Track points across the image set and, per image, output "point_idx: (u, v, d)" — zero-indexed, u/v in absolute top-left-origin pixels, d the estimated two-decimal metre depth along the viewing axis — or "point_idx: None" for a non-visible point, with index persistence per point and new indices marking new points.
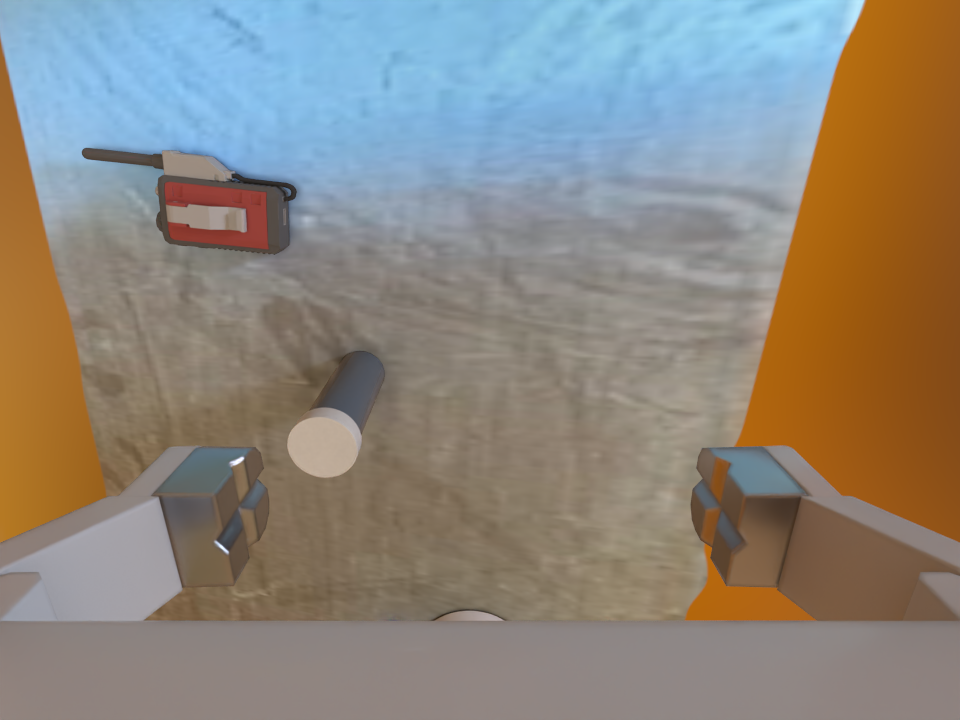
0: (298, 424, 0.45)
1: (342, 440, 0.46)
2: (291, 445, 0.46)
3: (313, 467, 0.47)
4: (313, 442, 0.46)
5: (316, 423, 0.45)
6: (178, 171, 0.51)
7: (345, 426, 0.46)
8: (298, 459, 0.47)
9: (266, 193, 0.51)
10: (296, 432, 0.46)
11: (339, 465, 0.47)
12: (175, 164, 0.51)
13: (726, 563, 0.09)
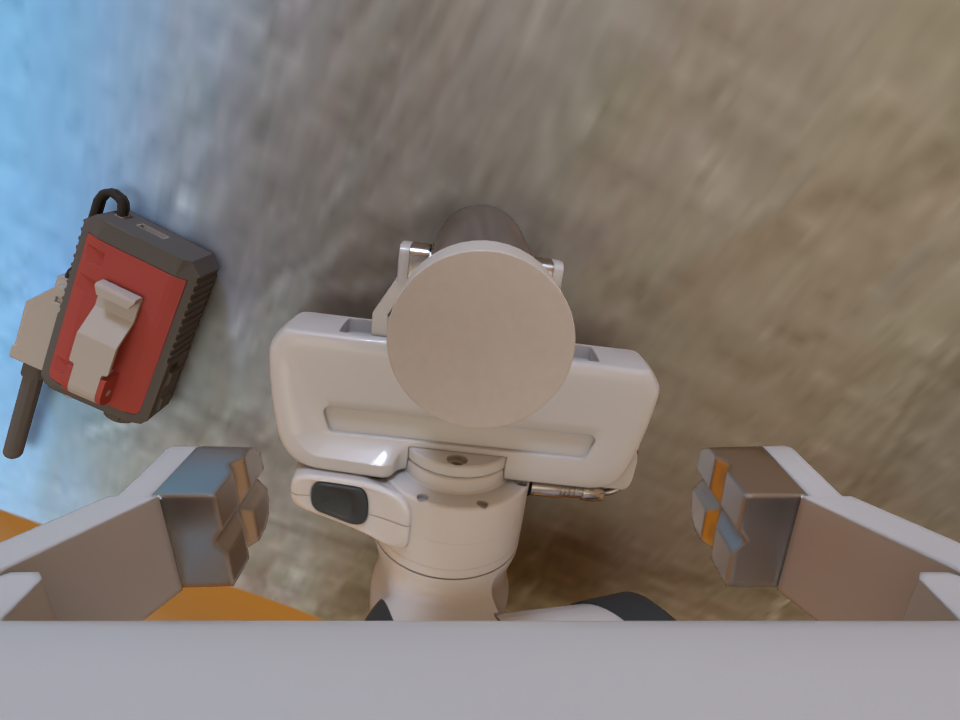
0: (394, 366, 0.17)
1: (481, 284, 0.16)
2: (443, 410, 0.18)
3: (523, 392, 0.18)
4: (456, 357, 0.17)
5: (407, 323, 0.17)
6: (42, 349, 0.32)
7: (446, 256, 0.16)
8: (486, 414, 0.18)
9: (89, 233, 0.29)
10: (413, 382, 0.17)
11: (548, 329, 0.17)
12: (31, 348, 0.32)
13: (726, 564, 0.09)
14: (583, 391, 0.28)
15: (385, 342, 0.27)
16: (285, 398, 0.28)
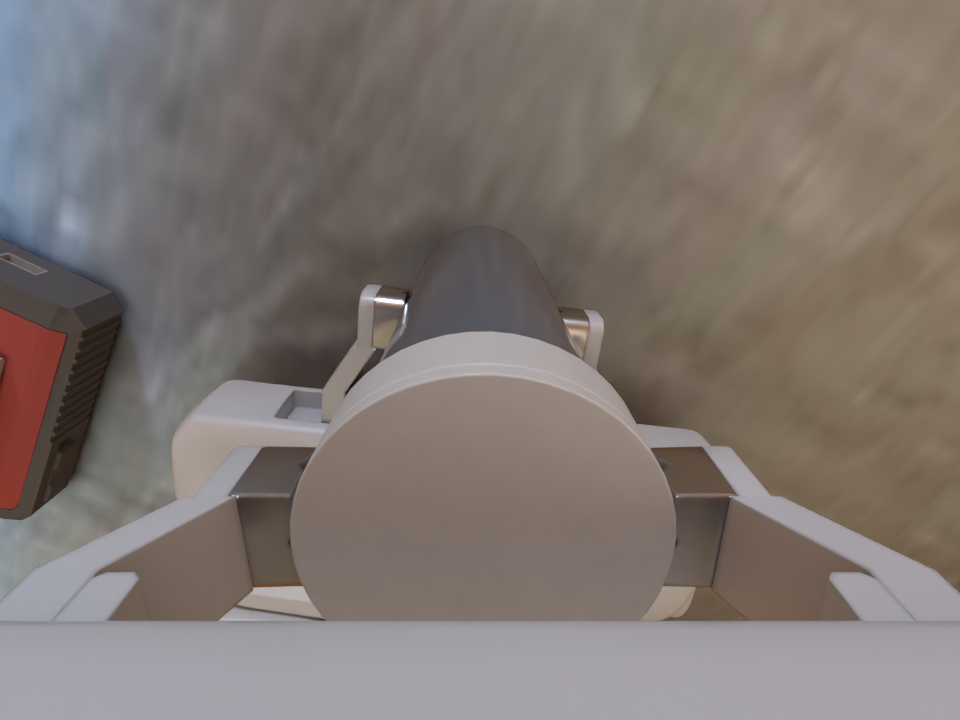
0: (308, 587, 0.09)
1: (483, 440, 0.08)
2: None
3: None
4: (433, 572, 0.08)
5: (330, 513, 0.08)
6: None
7: (407, 384, 0.07)
8: None
9: None
10: (349, 613, 0.09)
11: (622, 522, 0.08)
12: None
13: None
14: None
15: None
16: None
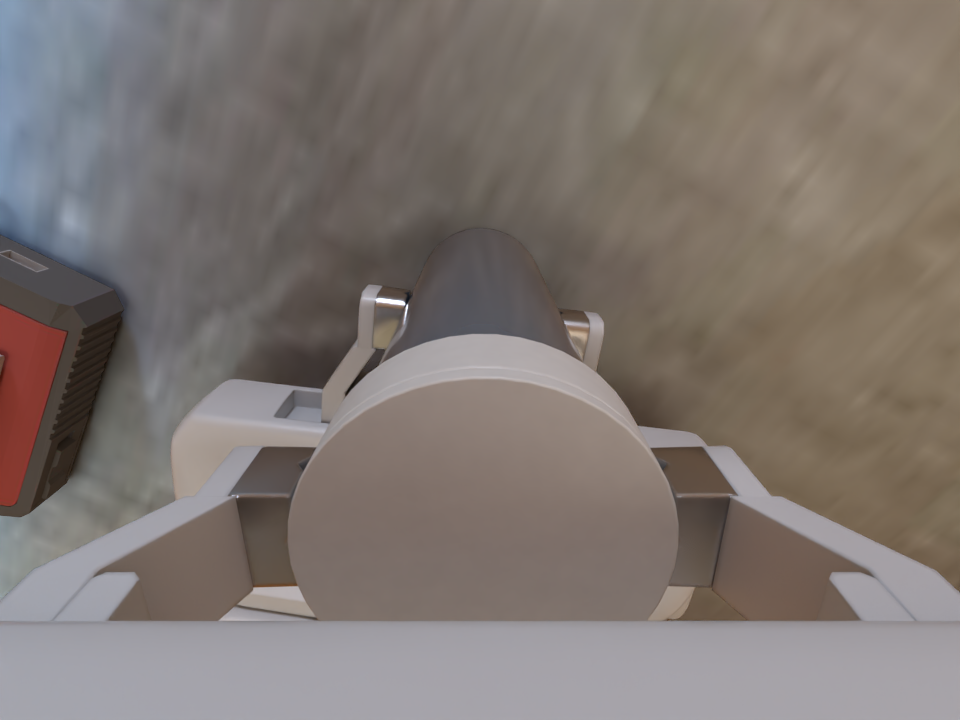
0: None
1: (357, 526, 0.08)
2: None
3: (617, 509, 0.08)
4: (494, 600, 0.09)
5: None
6: None
7: (293, 562, 0.08)
8: (636, 582, 0.08)
9: None
10: None
11: (489, 430, 0.07)
12: None
13: None
14: None
15: None
16: None
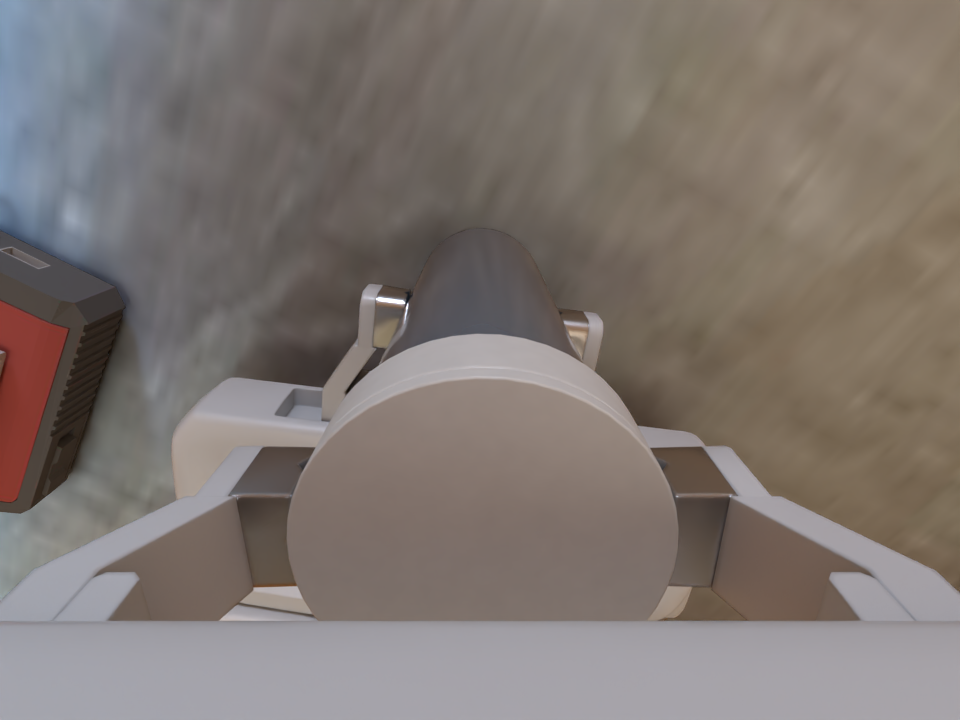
0: (655, 600, 0.09)
1: None
2: (642, 486, 0.08)
3: (462, 432, 0.07)
4: (540, 560, 0.08)
5: None
6: None
7: None
8: (567, 431, 0.07)
9: None
10: (647, 562, 0.08)
11: (343, 518, 0.08)
12: None
13: None
14: None
15: None
16: None
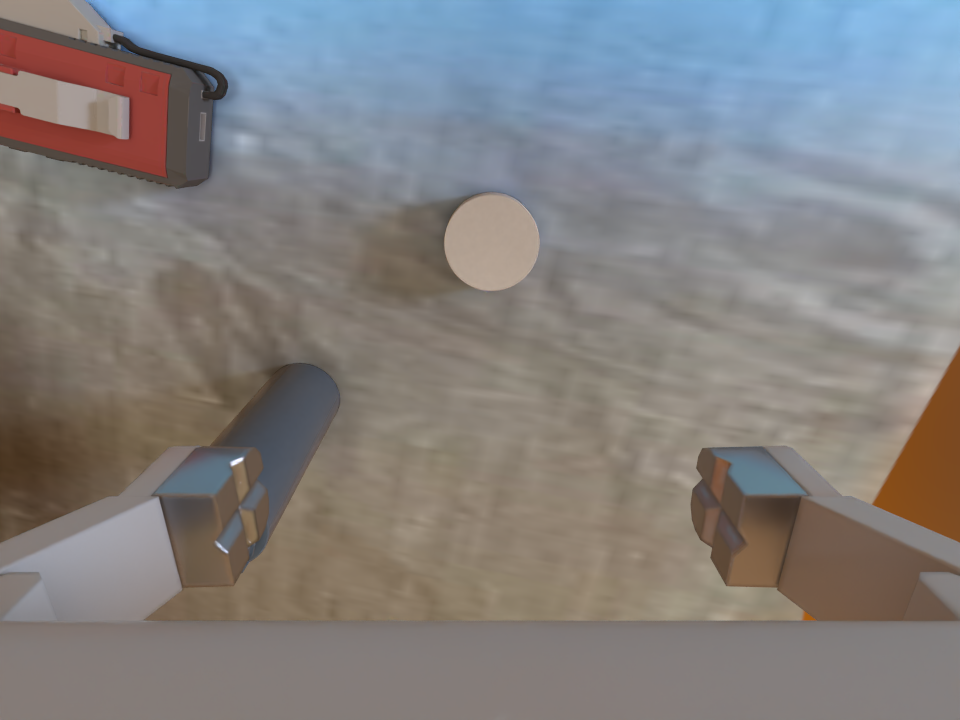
0: (462, 207, 0.33)
1: (520, 231, 0.33)
2: (449, 240, 0.34)
3: (476, 275, 0.34)
4: (480, 235, 0.33)
5: (487, 204, 0.33)
6: (13, 12, 0.28)
7: (526, 209, 0.33)
8: (457, 263, 0.34)
9: (170, 76, 0.29)
10: (458, 219, 0.33)
11: (512, 271, 0.34)
12: None
13: (726, 563, 0.09)
14: None
15: None
16: None
